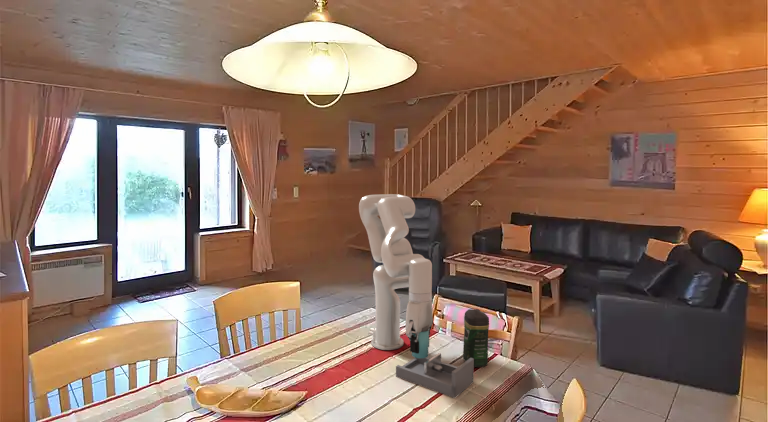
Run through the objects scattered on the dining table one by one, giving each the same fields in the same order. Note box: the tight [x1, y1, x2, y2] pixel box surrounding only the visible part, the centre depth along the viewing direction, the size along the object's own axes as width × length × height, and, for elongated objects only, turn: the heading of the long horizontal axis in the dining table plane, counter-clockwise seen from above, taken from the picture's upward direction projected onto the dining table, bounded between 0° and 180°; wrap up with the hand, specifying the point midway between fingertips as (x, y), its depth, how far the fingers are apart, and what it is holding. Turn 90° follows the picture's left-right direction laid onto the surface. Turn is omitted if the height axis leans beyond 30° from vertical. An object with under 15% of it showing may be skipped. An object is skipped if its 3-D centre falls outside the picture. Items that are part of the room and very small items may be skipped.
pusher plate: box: [424, 352, 443, 377], centre depth 144 cm, size 4×9×6 cm, turn 143°
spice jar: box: [411, 325, 430, 358], centre depth 147 cm, size 6×6×10 cm
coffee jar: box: [462, 308, 490, 368], centre depth 156 cm, size 10×8×19 cm
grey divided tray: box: [395, 356, 475, 399], centre depth 144 cm, size 22×12×8 cm, turn 53°
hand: (419, 348), depth 147 cm, fingers closed on spice jar, 5 cm apart
